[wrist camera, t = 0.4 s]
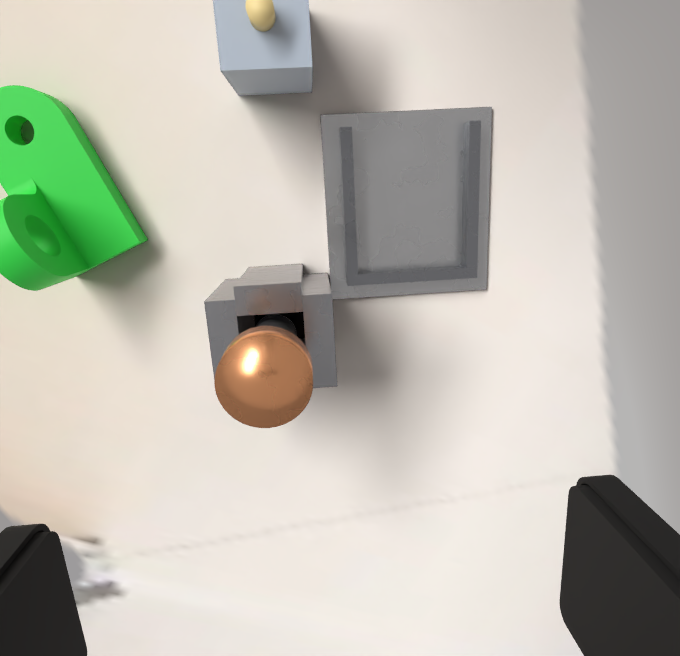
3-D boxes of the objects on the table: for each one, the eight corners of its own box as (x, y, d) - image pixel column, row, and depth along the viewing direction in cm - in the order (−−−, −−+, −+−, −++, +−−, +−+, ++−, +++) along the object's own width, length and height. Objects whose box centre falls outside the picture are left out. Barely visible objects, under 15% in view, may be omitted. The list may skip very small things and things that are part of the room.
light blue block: (230, 12, 32) (202, -51, 24) (306, 9, 32) (305, -54, 24) (238, 95, 33) (215, 63, 25) (312, 92, 33) (312, 59, 25)
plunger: (234, 301, 31) (208, 340, 23) (309, 296, 31) (309, 333, 23) (242, 371, 33) (220, 431, 24) (314, 366, 33) (316, 424, 25)
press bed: (320, 115, 34) (321, 111, 32) (490, 107, 34) (498, 103, 33) (331, 298, 37) (332, 303, 36) (485, 288, 38) (492, 292, 36)
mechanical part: (148, 239, 35) (105, 253, 28) (77, 275, 36) (14, 299, 28) (51, 75, 32) (-29, 38, 25) (-26, 117, 33) (-129, 93, 25)
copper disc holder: (224, 268, 36) (202, 288, 29) (326, 262, 36) (331, 280, 29) (235, 364, 38) (218, 406, 31) (332, 358, 39) (337, 397, 31)
